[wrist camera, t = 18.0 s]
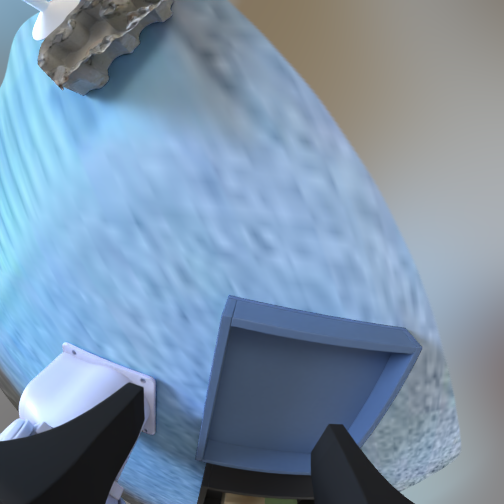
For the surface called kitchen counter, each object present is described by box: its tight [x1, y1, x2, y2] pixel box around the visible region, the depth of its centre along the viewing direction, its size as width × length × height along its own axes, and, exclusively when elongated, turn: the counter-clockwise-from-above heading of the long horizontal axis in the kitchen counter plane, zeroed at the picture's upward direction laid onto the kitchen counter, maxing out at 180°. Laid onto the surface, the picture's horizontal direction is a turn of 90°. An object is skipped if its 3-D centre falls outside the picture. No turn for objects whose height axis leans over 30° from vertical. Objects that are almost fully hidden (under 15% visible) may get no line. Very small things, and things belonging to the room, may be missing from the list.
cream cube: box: [221, 492, 265, 504], centre depth 20 cm, size 4×4×4 cm
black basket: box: [197, 463, 315, 504], centre depth 21 cm, size 13×12×4 cm
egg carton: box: [38, 0, 173, 96], centre depth 12 cm, size 11×8×4 cm
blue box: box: [195, 295, 422, 475], centre depth 18 cm, size 13×15×3 cm
